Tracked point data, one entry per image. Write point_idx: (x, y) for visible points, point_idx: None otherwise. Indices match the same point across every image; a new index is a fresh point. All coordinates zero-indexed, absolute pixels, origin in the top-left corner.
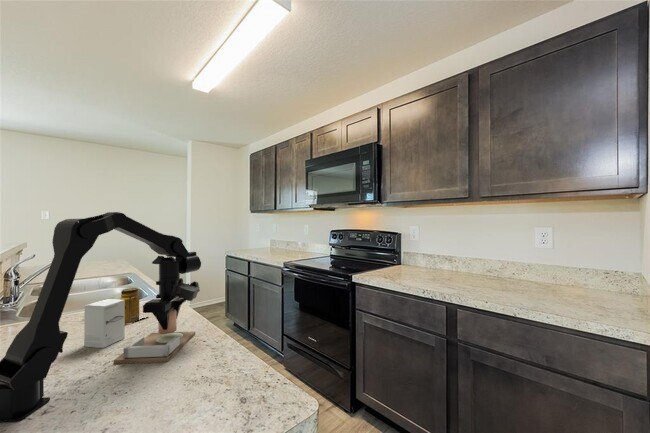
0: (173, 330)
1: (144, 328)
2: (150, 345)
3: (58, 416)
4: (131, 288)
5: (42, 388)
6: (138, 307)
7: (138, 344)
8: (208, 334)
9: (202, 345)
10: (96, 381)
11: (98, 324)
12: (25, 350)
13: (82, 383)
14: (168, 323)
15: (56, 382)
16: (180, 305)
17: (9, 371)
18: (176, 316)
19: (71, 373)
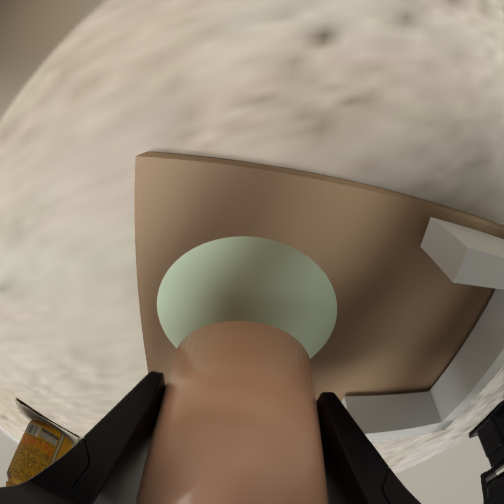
0: (281, 340)
1: (88, 411)
2: (341, 375)
3: None
4: None
5: (497, 428)
6: (26, 450)
7: (392, 416)
8: (171, 35)
9: (404, 50)
10: (490, 381)
11: None
12: None
13: (477, 400)
14: (319, 429)
15: (434, 438)
16: (44, 495)
17: (491, 477)
18: (141, 421)
19: (407, 443)
